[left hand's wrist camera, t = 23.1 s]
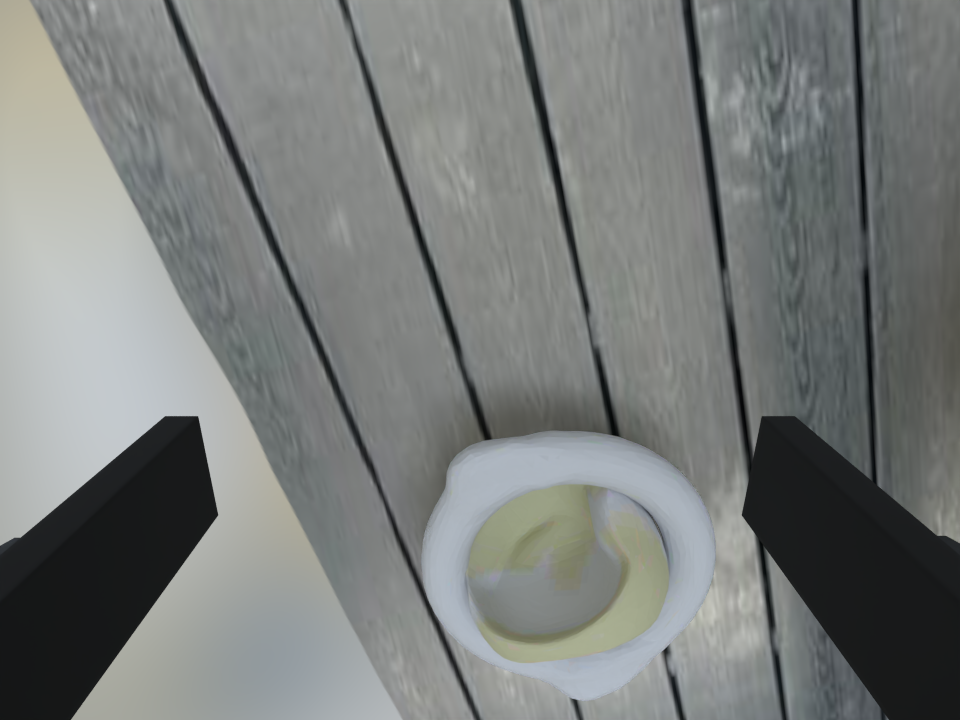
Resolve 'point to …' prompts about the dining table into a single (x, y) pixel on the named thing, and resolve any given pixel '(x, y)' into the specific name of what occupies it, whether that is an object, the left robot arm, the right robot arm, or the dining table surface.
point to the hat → (567, 557)
